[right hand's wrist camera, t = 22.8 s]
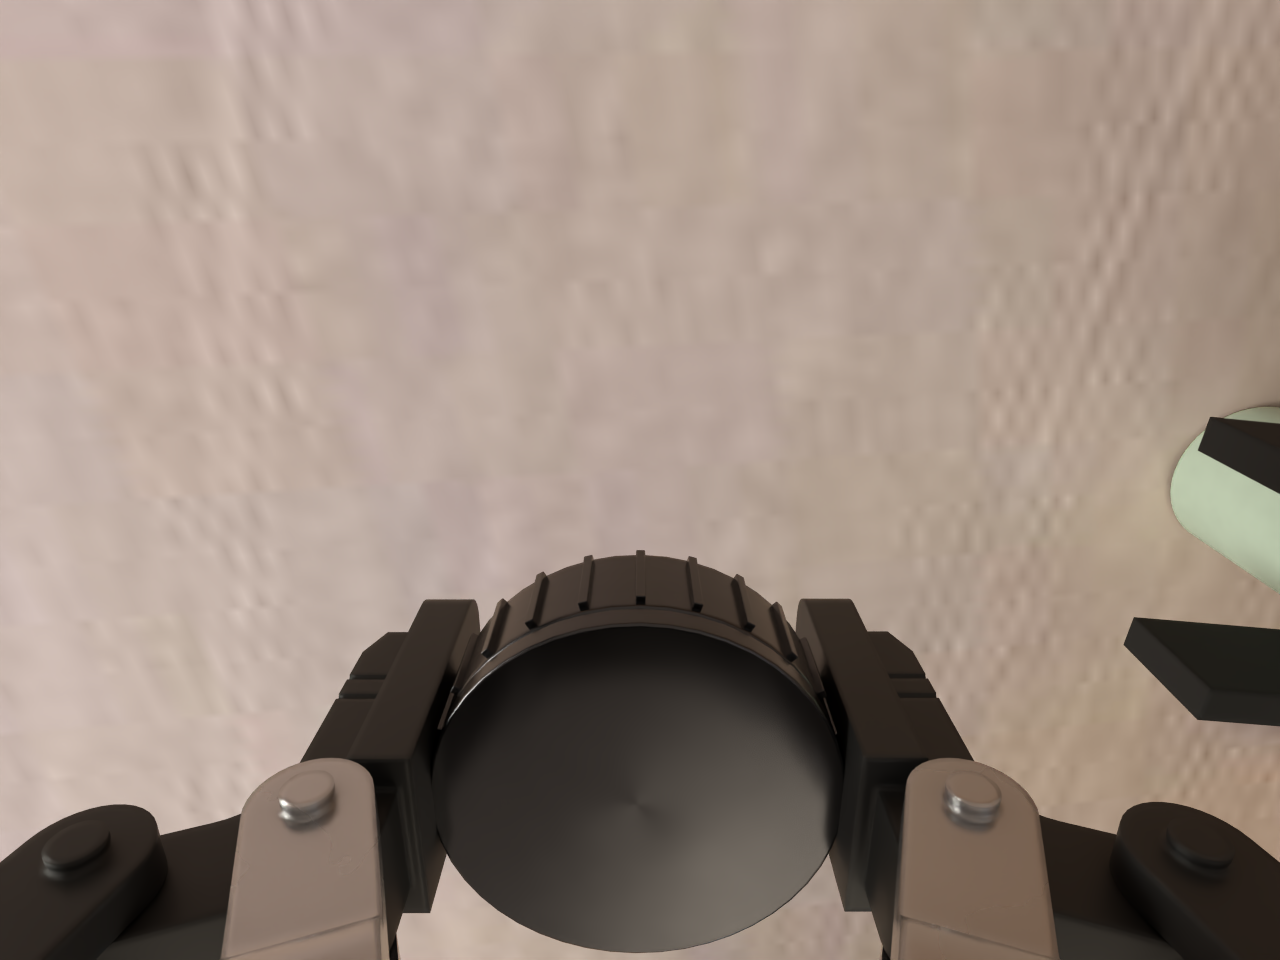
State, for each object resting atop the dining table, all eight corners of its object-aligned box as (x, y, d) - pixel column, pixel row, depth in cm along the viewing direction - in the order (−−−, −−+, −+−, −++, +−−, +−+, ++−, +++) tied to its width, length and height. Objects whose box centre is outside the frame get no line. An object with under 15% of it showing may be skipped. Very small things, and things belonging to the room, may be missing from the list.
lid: (889, 630, 11) (933, 711, 9) (724, 891, 12) (737, 1000, 11) (530, 489, 10) (509, 551, 8) (407, 788, 11) (370, 888, 10)
